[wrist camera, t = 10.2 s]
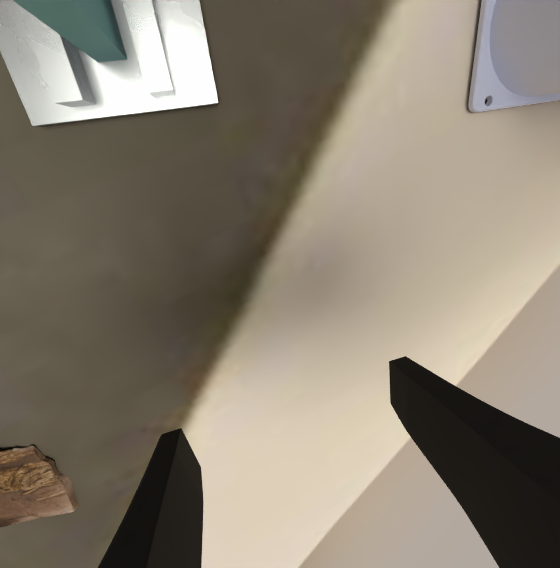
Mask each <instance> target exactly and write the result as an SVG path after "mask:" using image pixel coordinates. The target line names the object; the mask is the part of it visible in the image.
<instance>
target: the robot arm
mask: <svg viewBox="0 0 560 568" xmlns="http://www.w3.org/2000/svg"><path fill="white" fill-rule="evenodd" d="M486 98H487V103H486V105H485V99H486ZM558 100H560V0H482V2H481V10H480V18H479V26H478V33H477V41H476V49H475V57H474V65H473V72H472V80H471V88H470V96H469V103H468V105H469V110H470V111H471V112H483V111H490V110H496V109H503V108H510V107H517V106H524V105H530V104H537V103H544V102H551V101H558ZM389 370H390V399H391V405H392V406H393V408H394V410H395V412H396V414H397V415H398V417H399V419H400V421H401V422H402V424H403V426H404V427H405V429H406V431H407V432H408V433H409V435H410V436H411V438H412V439H413V440H414V442H415V443H416V445H417V446H418V447H419V449H420V450H421V451H422V453H423V454H424V455H425V456H426V458H427V460H428V461H429V462H430V464H431V465H432V466H433V468H434V469H435V470H436V472H437V473H438V474H439V476H440V477H441V479H442V480H443V481H444V483H445V484H446V485H447V487H448V488H449V489H450V491H451V492H452V493H453V495H454V496H455V498H456V499H457V501H458V502H459V504H460V505H461V506H462V508H463V509H464V511H465V512H466V514H467V516H468V517H469V519H470V520H471V522H472V524H473V525H474V527H475V528H476V530H477V532H478V533H479V535H480V537H481V538H482V540H483V541H484V543H485V545H486V546H487V548H488V550H489V551H490V553H491V555H492V556H493V558H494V560H495V561H496V563H497V565H498V566H499V568H560V438H558V437H556V436H554V435H552V434H549V433H547V432H545V431H543V430H540V429H538V428H536V427H534V426H531V425H529V424H527V423H525V422H523V421H521V420H518V419H516V418H514V417H512V416H510V415H508V414H506V413H504V412H502V411H500V410H498V409H496V408H494V407H493V406H490V405H489V404H487V403H485V402H483V401H481V400H479V399H477V398H475V397H474V396H472V395H470V394H468V393H467V392H465V391H463V390H461V389H459V388H458V387H456V386H454V385H453V384H451V383H449V382H447V381H446V380H444V379H442V378H441V377H439V376H437V375H436V374H434V373H432V372H431V371H429V370H427V369H426V368H424V367H422V366H421V365H419V364H417V363H416V362H414V361H412V360H411V359H409V358H407V357H406V356H405V357H402V358H399V359H395V360H392V361H389ZM202 530H203V489H202V476H201V467H200V465H199V463H198V461H197V459H196V457H195V455H194V453H193V451H192V449H191V447H190V445H189V443H188V441H187V439H186V437H185V435H184V433H183V431H182V429H181V428H180V429H177V430H174V431H171V432H168V433H165V434H162V435H161V437H160V439H159V441H158V443H157V446H156V448H155V450H154V453H153V455H152V457H151V460H150V462H149V464H148V467H147V469H146V471H145V473H144V476H143V478H142V480H141V482H140V485H139V487H138V489H137V491H136V493H135V495H134V497H133V500H132V502H131V504H130V506H129V508H128V510H127V512H126V514H125V516H124V518H123V520H122V522H121V524H120V526H119V528H118V530H117V532H116V534H115V536H114V538H113V540H112V542H111V544H110V546H109V548H108V550H107V552H106V553H105V555H104V557H103V559H102V561H101V563H100V565H99V566H98V568H201V558H202Z"/></svg>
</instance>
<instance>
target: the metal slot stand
mask: <svg viewBox="0 0 560 568" xmlns="http://www.w3.org/2000/svg"><path fill="white" fill-rule="evenodd" d="M111 3H112V6H113V10H114V13H115V17H116V20H117V24H118V27H119V31H120V34H121V38H122V41H123V45H124V48H125V52H126V55H127V60H117V61H107V62H96V61H95V60H94V59H92V58H91V57H90V56H88V55H87V54H86V53H84V52H83V51H81V50H80V49H79V48H77V47H76V46H75V45H73V44H72V43H70V42H69V41H68V40H66V39H65V38H64V37H62V36H61V35H60V34H58V33H57V32H55V31H54V30H53V29H51V28H50V27H49V26H47V25H46V24H44V23H43V22H42V21H40V20H39V19H38V18H36V17H35V16H34V15H32V14H31V13H29V12H28V11H27V10H25V9H24V8H23V7H21V6H20V5H18V4H17V3H16V2H14V1H13V0H0V52H1V54H2V56H3V59H4V61H5V63H6V66H7V68H8V70H9V72H10V75H11V77H12V79H13V82H14V84H15V86H16V89H17V91H18V93H19V96H20V98H21V100H22V103H23V105H24V107H25V110H26V112H27V114H28V117H29V119H30V121H31V123H32V126H39V127H42V126H50V125H58V124H66V123H74V122H82V121H90V120H98V119H106V118H114V117H122V116H130V115H138V114H146V113H154V112H162V111H170V110H178V109H186V108H194V107H202V106H210V105H218V99H217V93H216V88H215V83H214V77H213V72H212V66H211V61H210V56H209V50H208V45H207V39H206V34H205V29H204V23H203V18H202V13H201V7H200V2H199V0H111Z"/></svg>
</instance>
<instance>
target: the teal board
mask: <svg viewBox="0 0 560 568" xmlns="http://www.w3.org/2000/svg"><path fill="white" fill-rule="evenodd" d="M13 1H14V2H16V3H17V4H18V5H20V6H21V7H23V8H24V9H25V10H27V11H28V12H29V13H31V14H32V15H34V16H35V17H36V18H38V19H39V20H40V21H42V22H43V23H44V24H46V25H47V26H49V27H50V28H51V29H53V30H54V31H55V32H57V33H58V34H60V35H61V36H62V37H64V38H65V39H66V40H68V41H69V42H70V43H72V44H73V45H75V46H76V47H77V48H79V49H80V50H81V51H83V52H84V53H86V54H87V55H88V56H90V57H91V58H92V59H94V60H95V61H96V62H107V61H117V60H127V55H126V52H125V48H124V45H123V41H122V38H121V34H120V31H119V27H118V24H117V20H116V17H115V13H114V10H113V6H112V3H111V0H13Z"/></svg>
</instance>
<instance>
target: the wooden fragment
mask: <svg viewBox="0 0 560 568" xmlns="http://www.w3.org/2000/svg"><path fill="white" fill-rule="evenodd" d="M45 457H46V456H44V455H42V453H41V452H40V451H39V450H38V449H37V447H36V446H28V447H25V448H17V447H15V448H12V449H8V450H5V451H0V527H4V526H8V525H12V524H16V523H20V522H22V521H23V522H24V521H29V520H32V519H39V518H41V517H44V516H45V517H49V516H54V515H59V514H65V513H70V512H74V511H75V509H76V508H77V507H78V506H79V504H78V502H77V500H76V497H75V494H74V492H73V487H72V482H71V480H70V479H69V478H68V477H67V476H65V475H63V474H61V473H60V472H59V470H58V469H57V468H56V466H55V462H54V461H53V460H51V459H50V458H45Z"/></svg>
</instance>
